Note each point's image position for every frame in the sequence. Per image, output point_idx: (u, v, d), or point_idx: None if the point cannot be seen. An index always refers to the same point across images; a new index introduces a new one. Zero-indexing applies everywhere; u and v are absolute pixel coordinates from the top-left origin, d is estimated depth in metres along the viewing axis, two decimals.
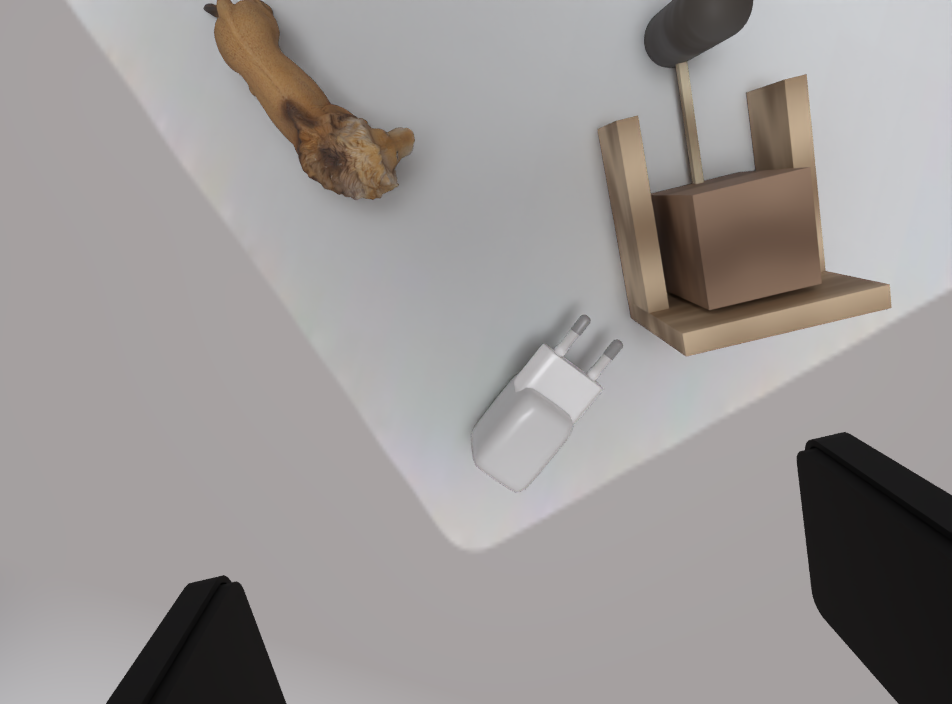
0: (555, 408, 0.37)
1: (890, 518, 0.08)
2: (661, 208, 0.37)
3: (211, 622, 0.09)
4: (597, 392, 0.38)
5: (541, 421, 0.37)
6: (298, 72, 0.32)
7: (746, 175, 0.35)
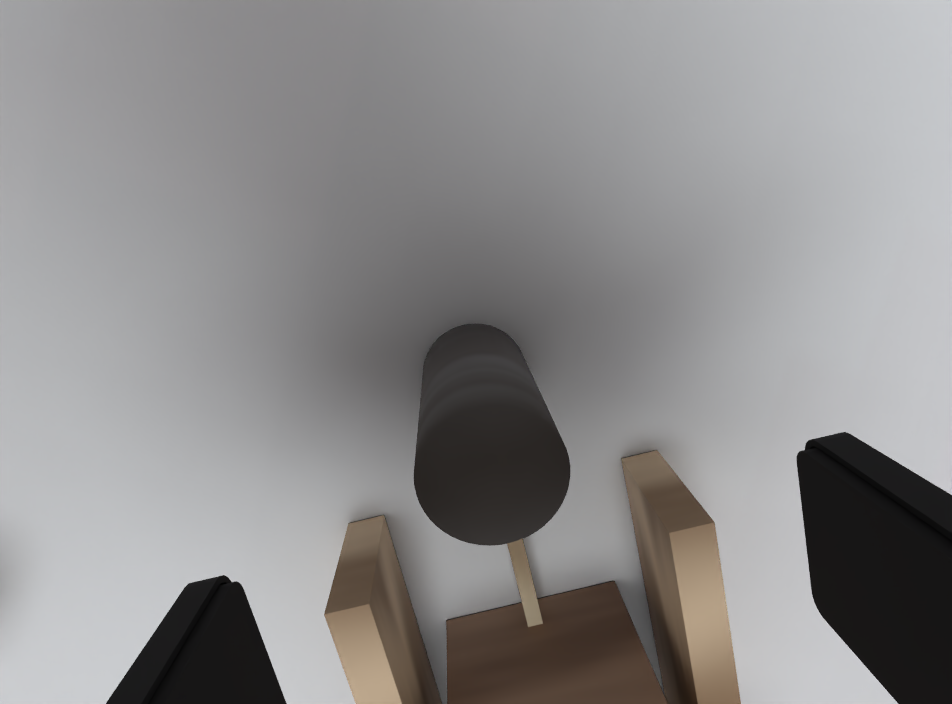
0: None
1: (890, 518, 0.08)
2: None
3: (211, 622, 0.09)
4: None
5: None
6: None
7: (604, 673, 0.18)
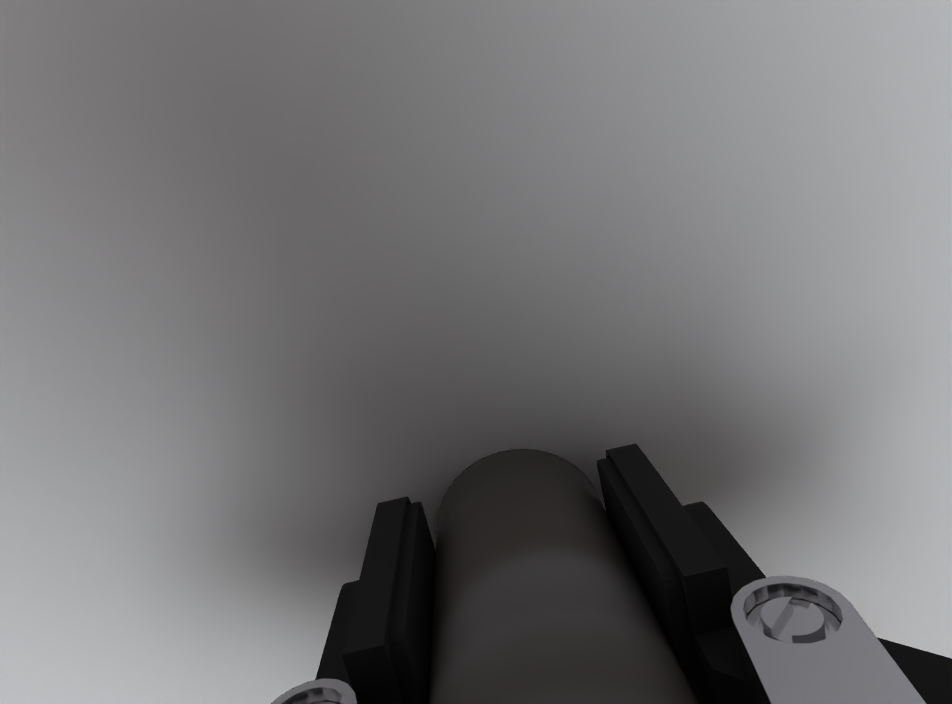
0: None
1: (630, 520, 0.09)
2: None
3: (416, 529, 0.10)
4: None
5: None
6: None
7: None
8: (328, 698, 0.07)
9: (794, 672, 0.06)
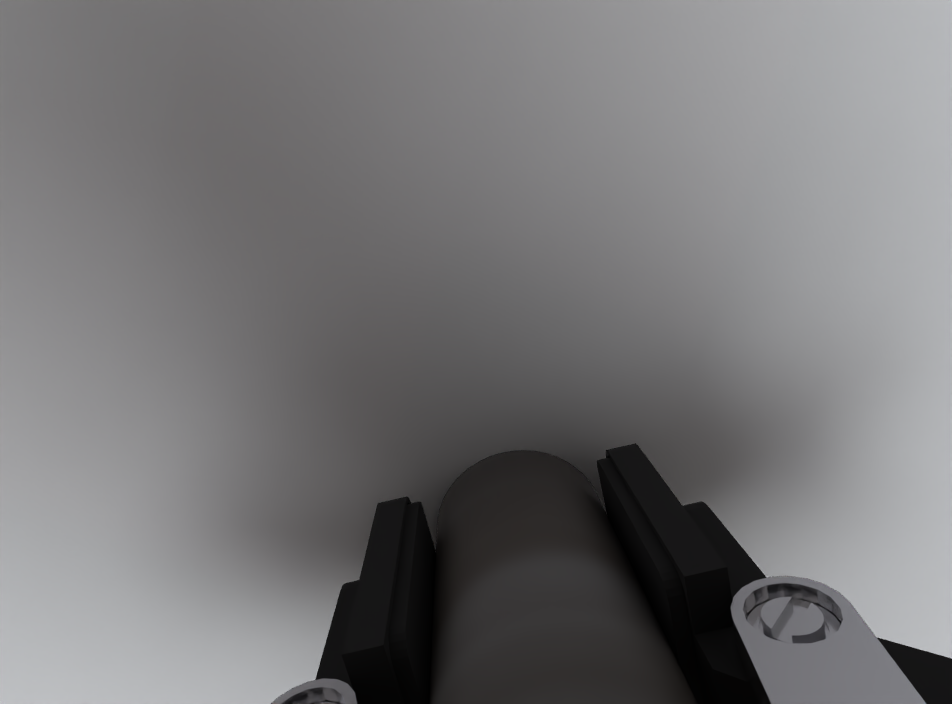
0: None
1: (630, 519, 0.09)
2: None
3: (416, 529, 0.10)
4: None
5: None
6: None
7: None
8: (328, 698, 0.07)
9: (794, 672, 0.06)
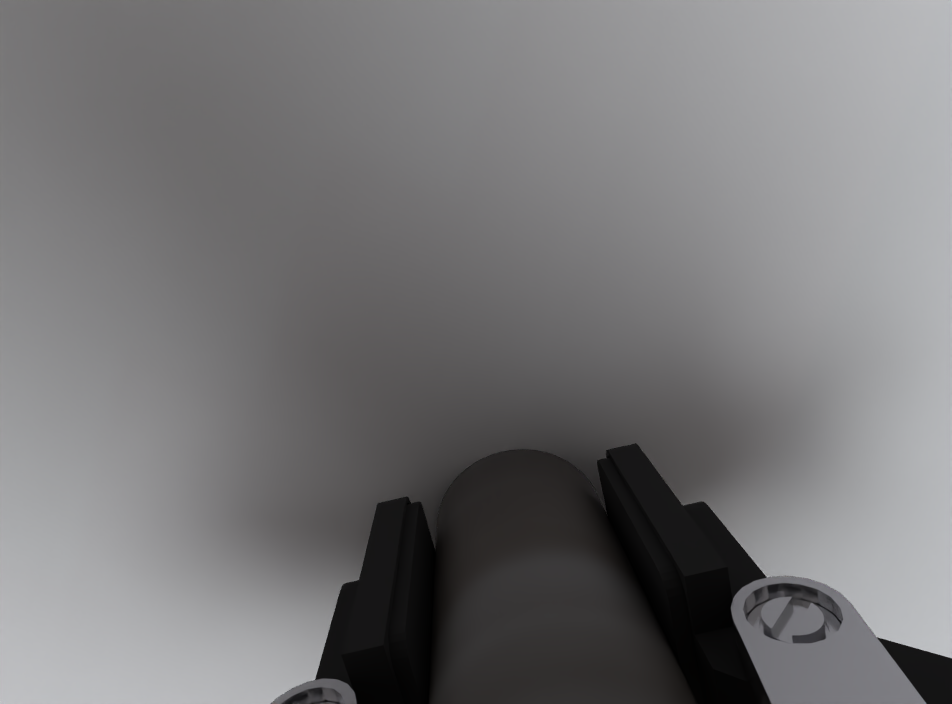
0: None
1: (630, 519, 0.09)
2: None
3: (416, 529, 0.10)
4: None
5: None
6: None
7: None
8: (328, 698, 0.07)
9: (794, 672, 0.06)
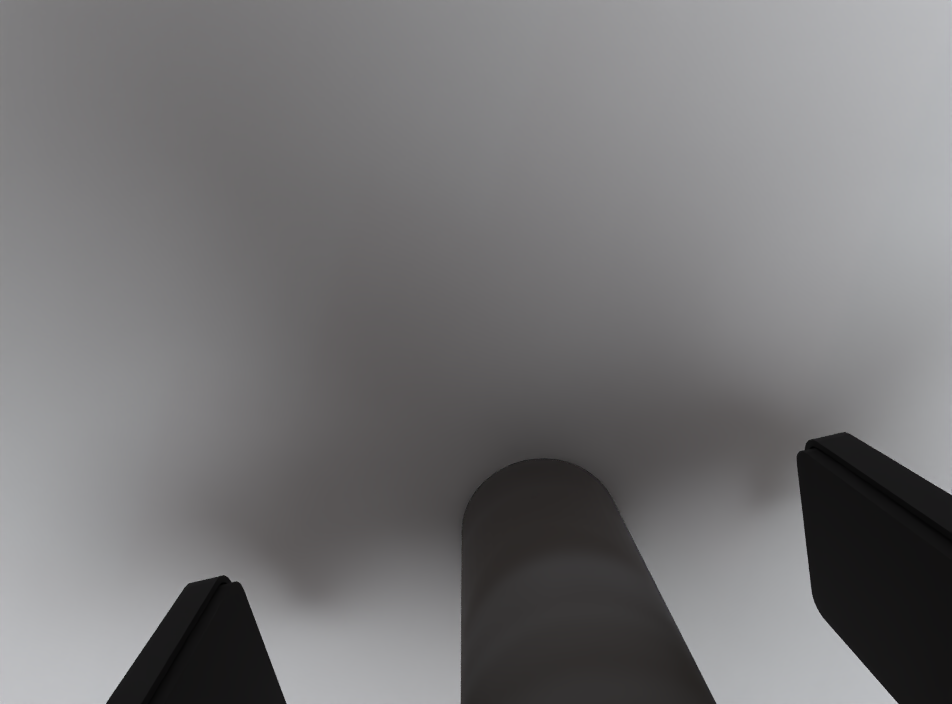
0: None
1: (890, 518, 0.08)
2: None
3: (211, 622, 0.09)
4: None
5: None
6: None
7: None
8: None
9: None
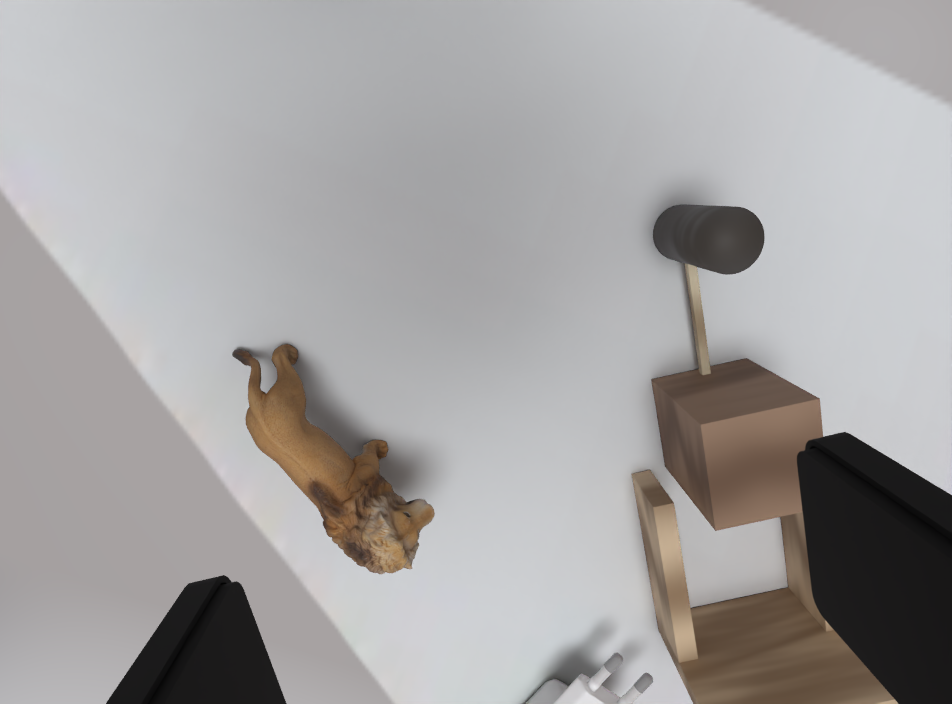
0: None
1: (890, 518, 0.08)
2: (667, 404, 0.37)
3: (211, 622, 0.09)
4: None
5: None
6: (324, 451, 0.34)
7: (754, 380, 0.35)
8: None
9: None
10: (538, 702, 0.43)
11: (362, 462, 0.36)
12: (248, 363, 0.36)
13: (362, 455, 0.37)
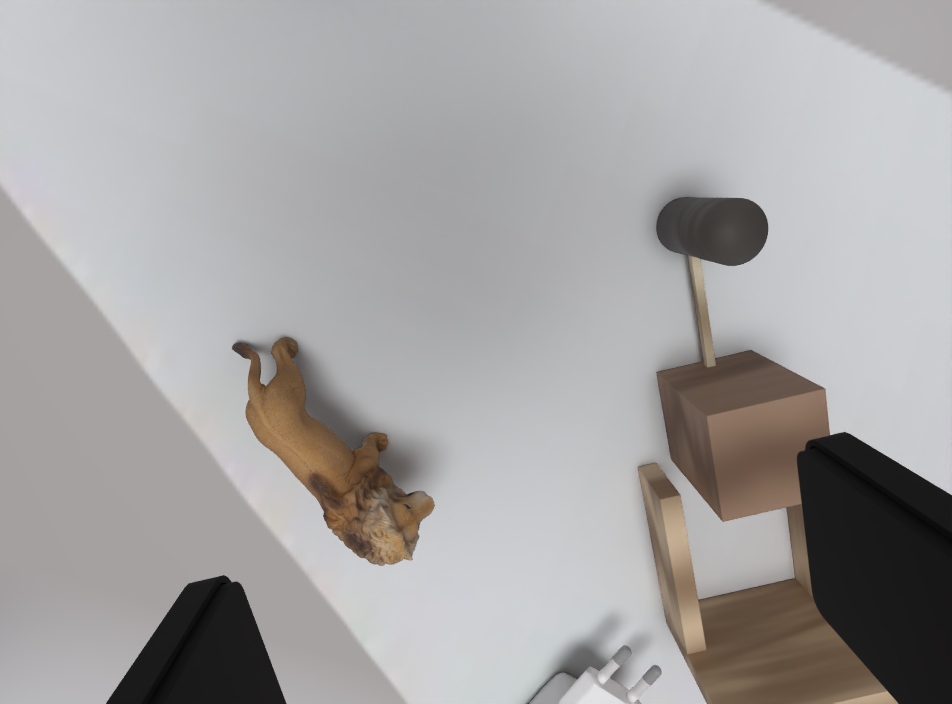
0: None
1: (890, 518, 0.08)
2: (673, 397, 0.37)
3: (211, 622, 0.09)
4: None
5: None
6: (324, 443, 0.34)
7: (759, 372, 0.35)
8: None
9: None
10: (547, 695, 0.43)
11: (362, 455, 0.36)
12: (248, 356, 0.36)
13: (362, 448, 0.37)
